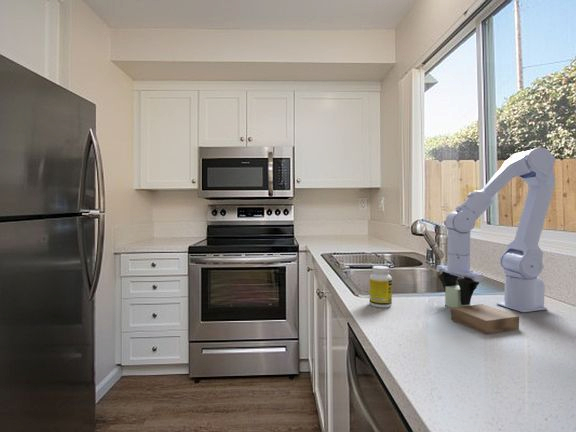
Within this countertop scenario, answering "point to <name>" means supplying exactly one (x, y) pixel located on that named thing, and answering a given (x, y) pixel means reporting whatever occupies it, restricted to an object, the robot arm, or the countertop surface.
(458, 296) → the sage cube
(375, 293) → the pill bottle
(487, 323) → the walnut base
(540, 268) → the robot arm
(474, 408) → the countertop surface
